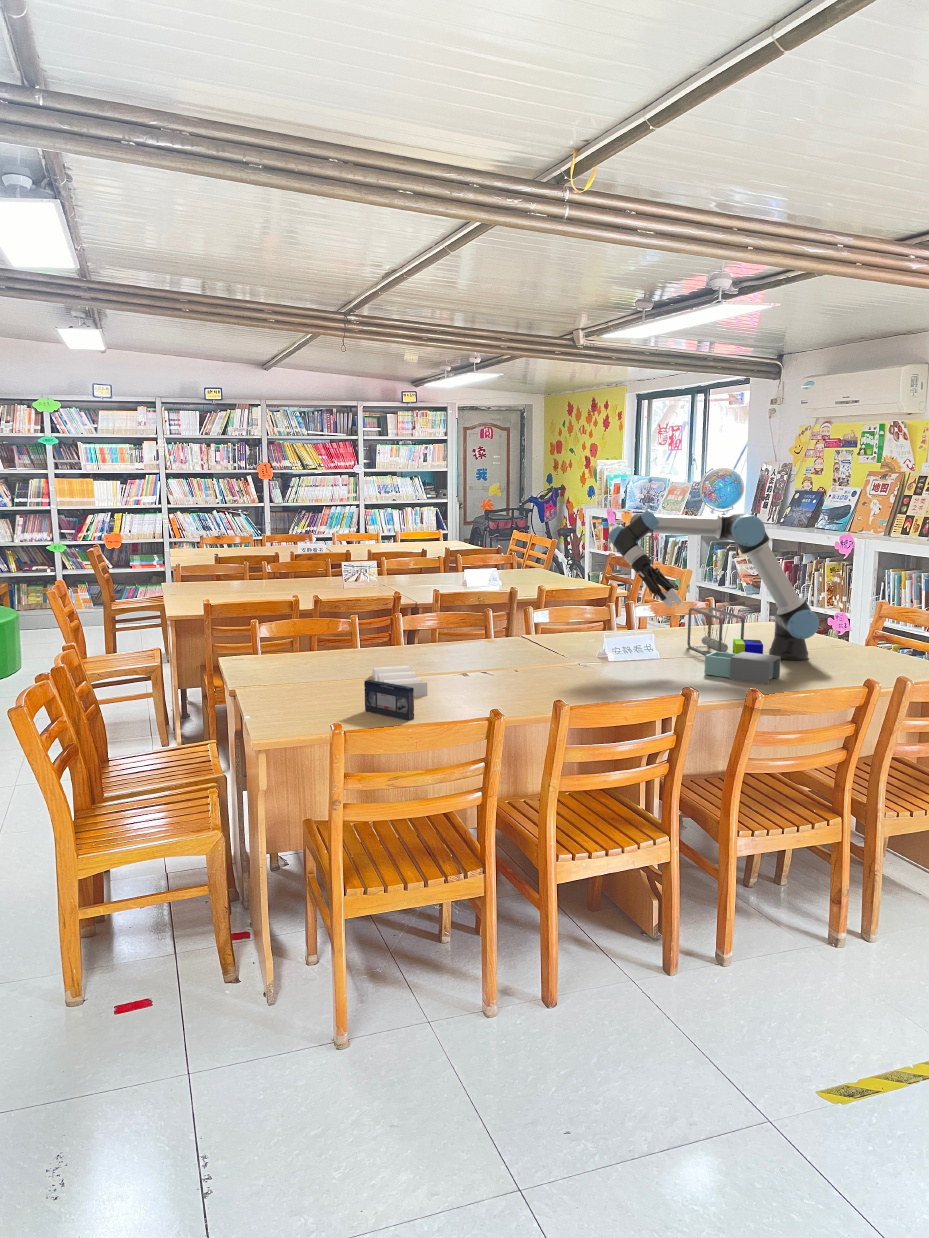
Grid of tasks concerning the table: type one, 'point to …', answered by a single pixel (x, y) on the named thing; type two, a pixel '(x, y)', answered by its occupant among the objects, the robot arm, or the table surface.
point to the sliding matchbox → (723, 664)
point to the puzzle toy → (747, 646)
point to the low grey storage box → (754, 667)
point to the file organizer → (400, 678)
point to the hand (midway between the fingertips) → (675, 604)
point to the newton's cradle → (707, 639)
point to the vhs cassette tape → (389, 699)
